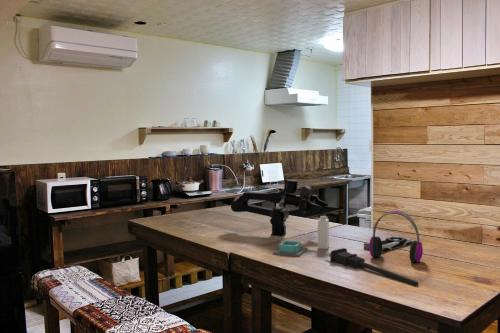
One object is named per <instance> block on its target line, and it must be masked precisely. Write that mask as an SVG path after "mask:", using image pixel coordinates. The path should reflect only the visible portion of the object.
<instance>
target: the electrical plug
mask: <svg viewBox="0 0 500 333" xmlns="http://www.w3.org/2000/svg"><path fill="white" fill-rule="evenodd" d="M324 255H325V256H326V257H329V260H330V261H329V262H330V263H332V262H333V263H339V264H343V266H345V267H347V266H349V267H351V268H354V269H358V268H362V267H363V268H365V269H367V270H369V271H372V272H374V273H375V272H376V273H378V274H379V275H380V274H381V275H383V276H386V277H388V278H391V279H394V280H396V281H399V282H402V283H405V284H407V283H408V285H410V284H411V286H413V285H414V287H416V286H419V281H416V280H414V279H411V278H408V277H405V276H403V275H400V274H397V273H396V272H395V273H394V272H392V271H389V270H386V269H384V268H381V267H378V266H375V265H373V264H370V263H367V262H365V260H366V259H365V258H363V257H360V256H358V254H357V253H350V252H348V250H347V248H344V247H343V248H337V249H333V250H331V252H328V251H325V252H324Z"/></svg>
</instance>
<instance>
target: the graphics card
mask: <svg viewBox="0 0 500 333" xmlns="http://www.w3.org/2000/svg"><path fill="white" fill-rule="evenodd" d="M381 241H382V254H384V253H385V252H390V251H392V250H396V249H399V248H403V247H406V246H411V243H412V242H413V240H412V239H411V238H409V237H405V236H401V235H395V236H391V237H387V238H383V239H381ZM369 244H370V241H369V242H365V243H363V250H369V251H370V249H369Z"/></svg>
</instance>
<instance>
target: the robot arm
mask: <svg viewBox="0 0 500 333" xmlns="http://www.w3.org/2000/svg"><path fill="white" fill-rule="evenodd" d="M298 185H299V180H298V179H290V178H289V179H288V178H287V179H284V186H283V187H284V188H283V190H278V191H271V192H257V191H256V192H255V191H244V192H243V193H242V194H241V195H240V196H239V197H238V198H237V199H236V200H235V201H232V202H231V204H230V209H231V211H232V212H234V213H251V214H256V215H261V216H265V217H268V218H269V217H270V219H269V222H270V224H271V233H270V236H276V237H282V236H283V237H284V236H285V235H286V234H287V225H286V222H287V219H288V218H289V216H290V213H289V211H288V209H286V208H288V207H289V206H291V207H294V208H298V211H299V212H300V213H309V212H314V211H320V210H322V209H323V207H328V206H329V203H327V202H325V201H324V200H321V199H320V198H319V195H317V194H312V195H311V196H310V193H311V191H312V189H313V188H312V187H311V186H310V185H307V184H306V185H304V186H303V187H302V189H301V190H300V193H299V195H298V194H295V193H297V192H298ZM251 200H255V201H267V202H269V203H273V204H277V206H273V207H272V208H269V207H264V206H260V205H254V204H250V203H249V201H251ZM280 203H282V204H281V205H282V206H283V207H281V206H278V204H280Z"/></svg>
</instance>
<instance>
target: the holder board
mask: <svg viewBox="0 0 500 333" xmlns="http://www.w3.org/2000/svg"><path fill="white" fill-rule="evenodd" d="M306 251H308V247H302V242H301V241H293V240H284V241H282V242H280V243H279V244H278V248H277V249H275V250H274V251H273V252H272V255H281V256H288V257H289V256H290V257H299V258H300V257H301V256H302V255H303V254H304V253H306Z"/></svg>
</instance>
